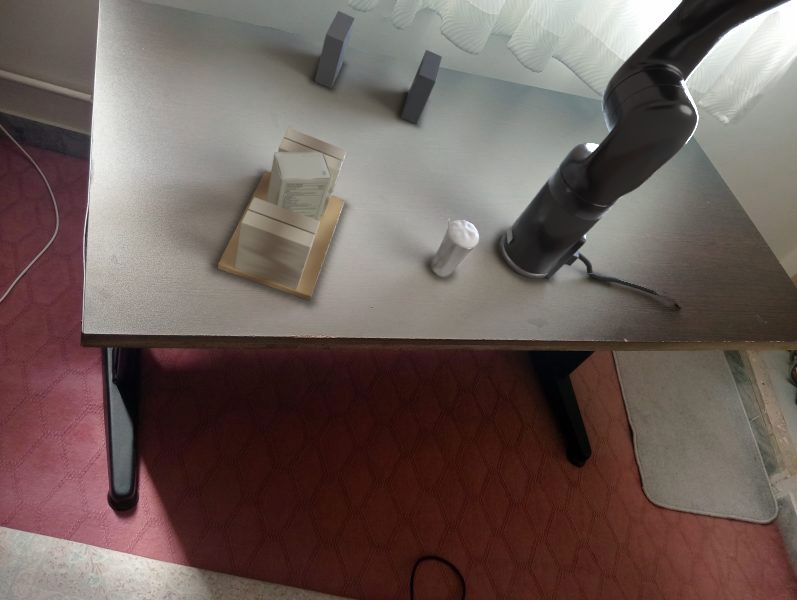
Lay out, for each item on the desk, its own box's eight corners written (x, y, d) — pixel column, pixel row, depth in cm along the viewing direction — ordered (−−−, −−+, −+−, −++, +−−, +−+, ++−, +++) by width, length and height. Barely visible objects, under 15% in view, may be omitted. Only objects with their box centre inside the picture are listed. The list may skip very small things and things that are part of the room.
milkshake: (421, 251, 80) (448, 206, 72) (454, 259, 81) (484, 216, 73) (421, 275, 77) (448, 232, 69) (455, 283, 79) (486, 242, 71)
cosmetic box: (306, 216, 75) (325, 151, 65) (313, 241, 73) (334, 178, 63) (260, 217, 72) (273, 150, 63) (267, 243, 70) (281, 178, 61)
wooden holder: (343, 205, 80) (361, 155, 72) (309, 300, 69) (326, 254, 61) (264, 175, 78) (274, 120, 70) (217, 268, 67) (222, 217, 59)
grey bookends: (423, 98, 100) (442, 56, 93) (416, 124, 96) (435, 81, 89) (326, 57, 97) (338, 10, 90) (314, 81, 93) (325, 34, 85)
